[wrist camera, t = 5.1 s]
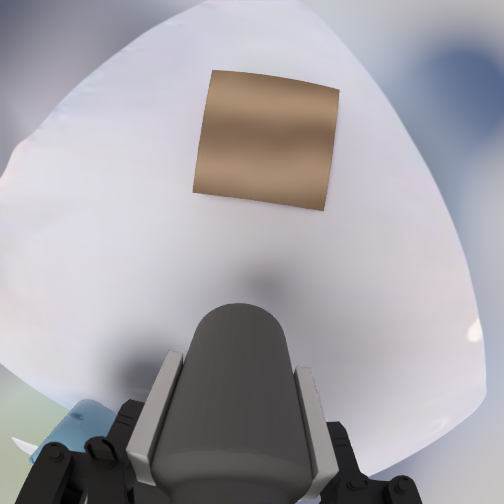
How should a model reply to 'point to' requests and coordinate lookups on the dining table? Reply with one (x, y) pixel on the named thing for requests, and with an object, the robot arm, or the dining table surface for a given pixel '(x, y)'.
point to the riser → (267, 139)
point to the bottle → (234, 417)
